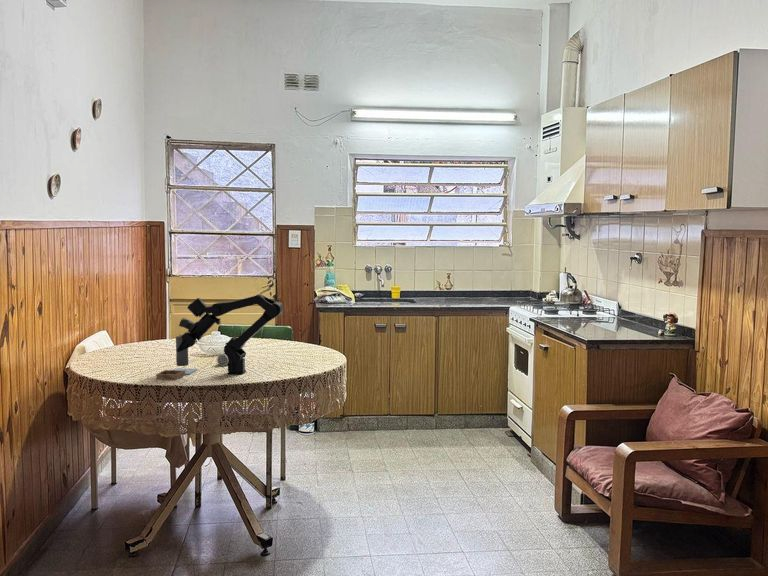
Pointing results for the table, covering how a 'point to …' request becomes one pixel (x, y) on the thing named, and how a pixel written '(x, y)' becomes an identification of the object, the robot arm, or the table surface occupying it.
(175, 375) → the brown square frame
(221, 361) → the flashlight
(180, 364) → the grey jar with lid
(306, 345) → the table surface
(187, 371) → the mat
